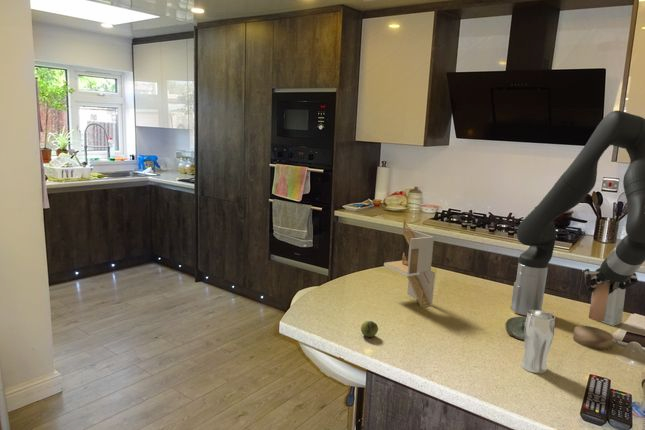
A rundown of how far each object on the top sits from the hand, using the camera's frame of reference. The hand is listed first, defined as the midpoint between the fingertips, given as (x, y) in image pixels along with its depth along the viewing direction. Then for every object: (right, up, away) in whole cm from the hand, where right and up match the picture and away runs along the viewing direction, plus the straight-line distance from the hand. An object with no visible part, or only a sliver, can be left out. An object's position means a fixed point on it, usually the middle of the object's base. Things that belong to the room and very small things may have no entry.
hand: (597, 290), depth 137 cm
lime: (-69, -13, -3) cm, 70 cm away
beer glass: (-27, -18, -16) cm, 36 cm away
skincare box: (+13, -13, +19) cm, 26 cm away
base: (-1, -16, +1) cm, 16 cm away
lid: (-21, -15, +4) cm, 26 cm away
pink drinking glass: (-1, -8, -1) cm, 8 cm away
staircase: (-52, -9, +28) cm, 59 cm away
